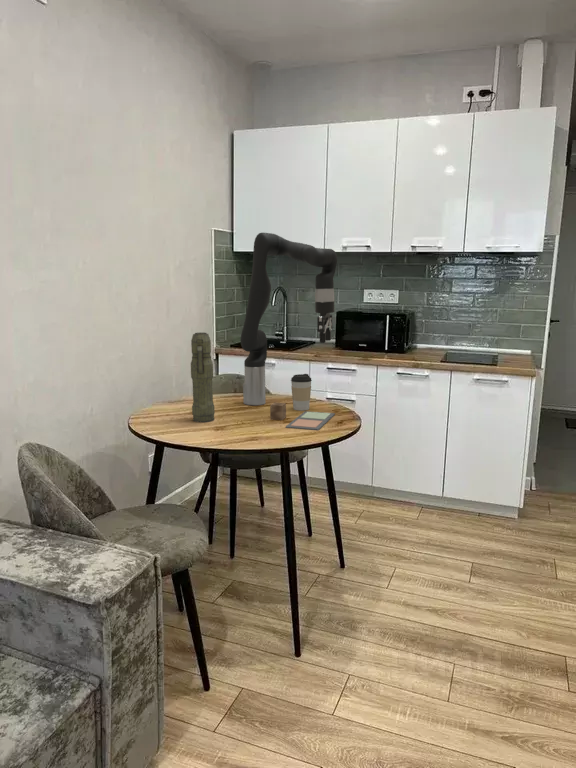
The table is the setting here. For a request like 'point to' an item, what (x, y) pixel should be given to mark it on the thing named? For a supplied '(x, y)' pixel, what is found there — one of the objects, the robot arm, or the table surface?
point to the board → (311, 420)
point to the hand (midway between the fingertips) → (325, 341)
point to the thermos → (202, 378)
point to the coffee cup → (301, 391)
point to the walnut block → (278, 411)
